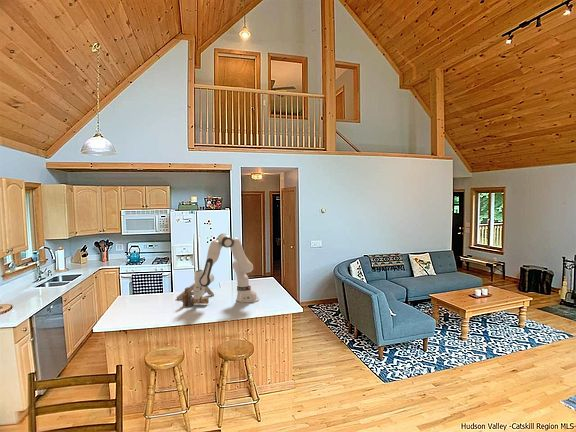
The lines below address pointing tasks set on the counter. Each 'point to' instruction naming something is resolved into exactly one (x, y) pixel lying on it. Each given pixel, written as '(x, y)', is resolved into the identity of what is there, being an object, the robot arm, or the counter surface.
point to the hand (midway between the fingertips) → (199, 301)
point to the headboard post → (187, 297)
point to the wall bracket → (193, 291)
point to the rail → (202, 300)
